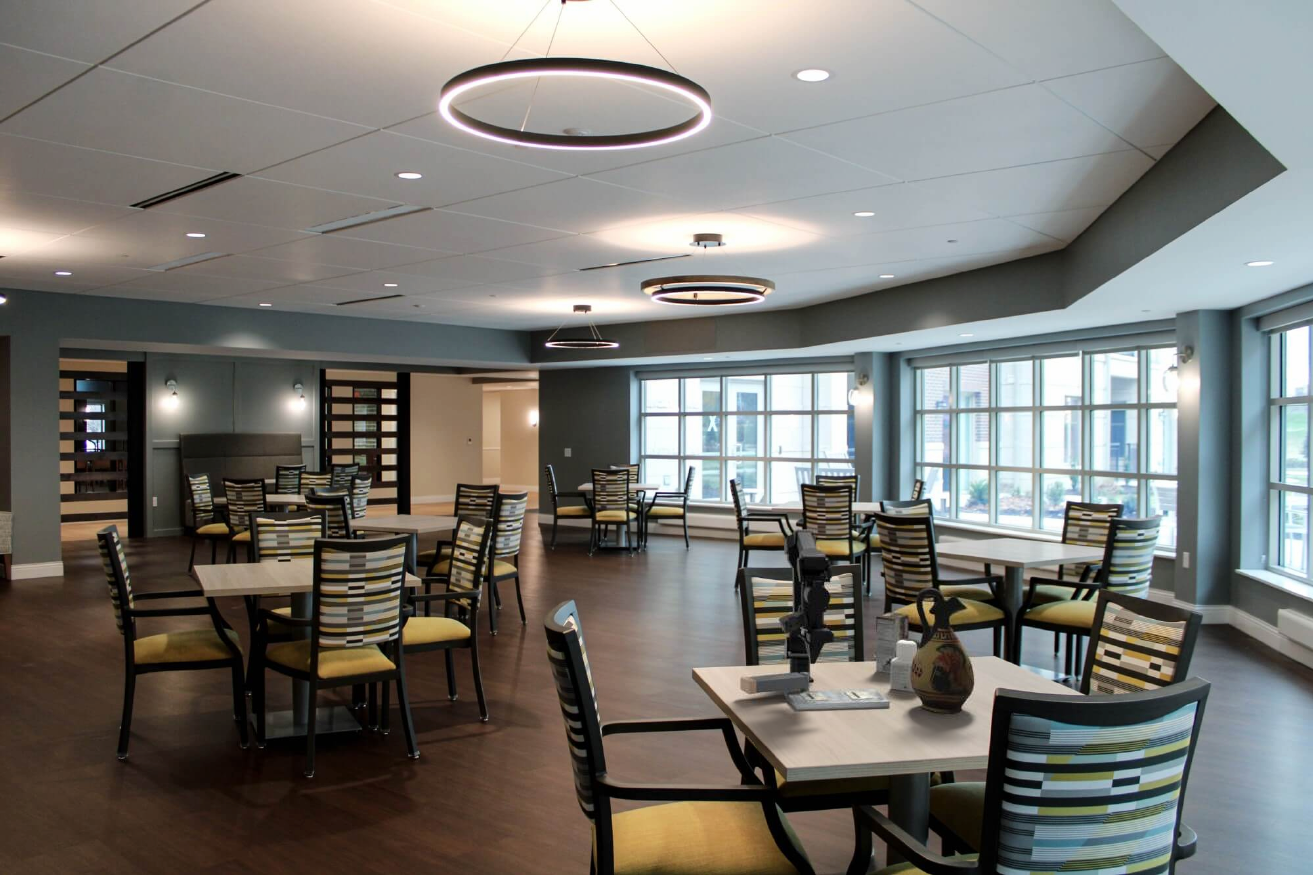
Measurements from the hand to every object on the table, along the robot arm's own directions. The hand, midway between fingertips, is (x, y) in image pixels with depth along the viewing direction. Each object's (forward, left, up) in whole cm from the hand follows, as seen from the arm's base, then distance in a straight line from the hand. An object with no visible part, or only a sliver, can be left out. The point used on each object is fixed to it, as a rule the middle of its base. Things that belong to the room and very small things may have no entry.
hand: (812, 663), depth 245 cm
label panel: (0, +6, -10) cm, 12 cm away
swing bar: (-6, -8, -10) cm, 14 cm away
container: (-12, +30, -10) cm, 34 cm away
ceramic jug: (+8, +30, -10) cm, 33 cm away
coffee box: (-32, +33, -10) cm, 47 cm away
